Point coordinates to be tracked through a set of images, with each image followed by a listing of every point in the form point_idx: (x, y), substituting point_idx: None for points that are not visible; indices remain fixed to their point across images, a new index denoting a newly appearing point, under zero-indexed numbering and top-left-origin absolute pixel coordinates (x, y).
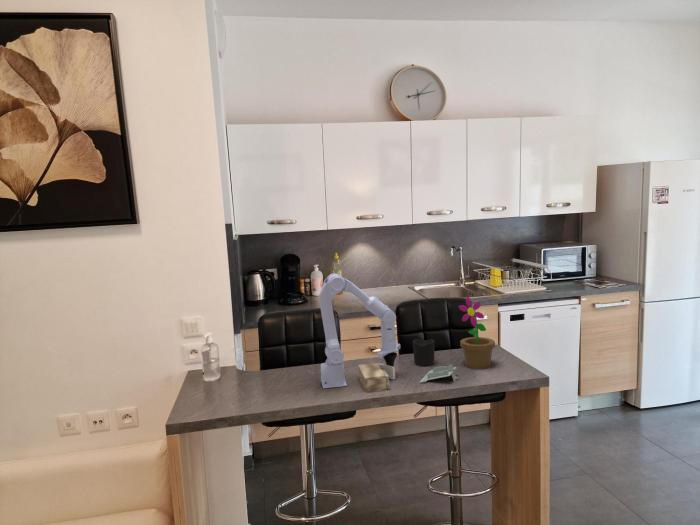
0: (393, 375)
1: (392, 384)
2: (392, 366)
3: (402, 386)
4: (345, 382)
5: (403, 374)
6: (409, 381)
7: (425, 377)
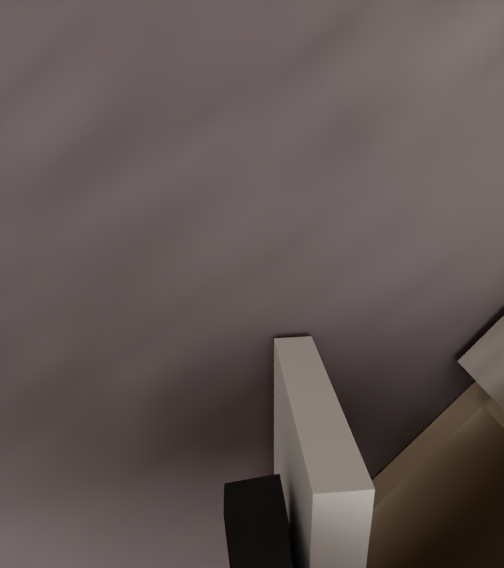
0: (323, 371)
1: (472, 230)
2: (323, 534)
3: (483, 26)
4: None
5: (29, 373)
6: (208, 85)
7: None
